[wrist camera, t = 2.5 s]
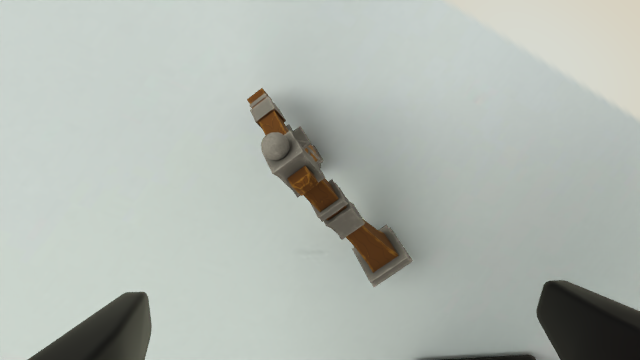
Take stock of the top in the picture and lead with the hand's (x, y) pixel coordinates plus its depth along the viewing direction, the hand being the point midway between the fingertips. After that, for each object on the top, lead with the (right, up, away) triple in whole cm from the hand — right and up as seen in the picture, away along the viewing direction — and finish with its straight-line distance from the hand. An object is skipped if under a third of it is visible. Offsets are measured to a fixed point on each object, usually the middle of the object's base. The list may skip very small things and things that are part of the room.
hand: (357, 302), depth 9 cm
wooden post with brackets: (-1, +3, +6) cm, 7 cm away
